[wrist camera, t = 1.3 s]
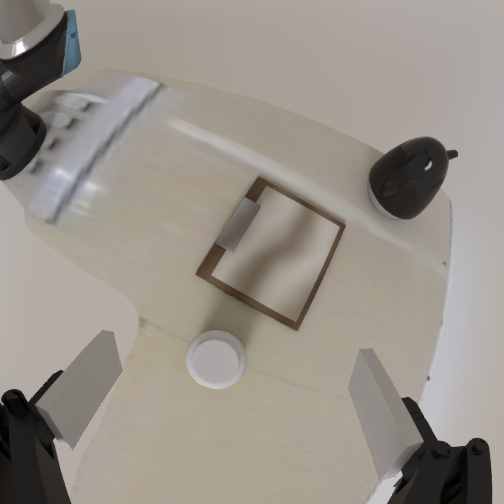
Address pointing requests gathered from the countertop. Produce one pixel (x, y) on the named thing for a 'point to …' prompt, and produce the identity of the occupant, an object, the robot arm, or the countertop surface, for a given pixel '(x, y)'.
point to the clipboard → (273, 253)
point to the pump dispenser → (409, 177)
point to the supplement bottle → (216, 359)
